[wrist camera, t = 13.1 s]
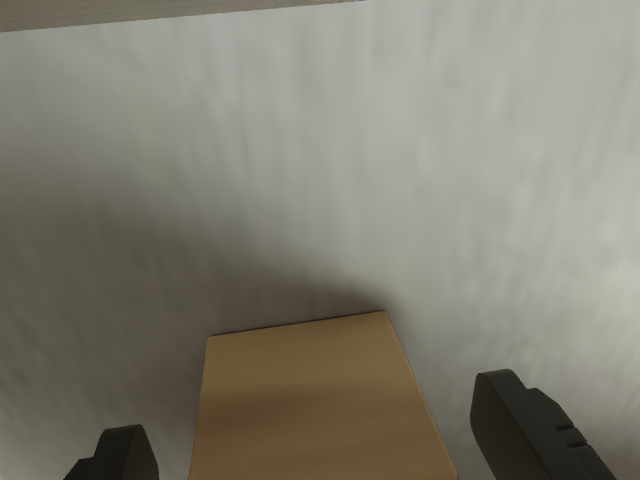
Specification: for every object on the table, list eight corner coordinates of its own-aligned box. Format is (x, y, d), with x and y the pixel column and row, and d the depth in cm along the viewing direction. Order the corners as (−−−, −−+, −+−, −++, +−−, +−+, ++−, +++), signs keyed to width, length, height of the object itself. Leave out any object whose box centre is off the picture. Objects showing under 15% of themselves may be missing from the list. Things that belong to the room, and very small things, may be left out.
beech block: (386, 427, 13) (444, 606, 9) (238, 452, 13) (230, 651, 9) (386, 308, 11) (460, 476, 7) (207, 335, 11) (178, 529, 7)
